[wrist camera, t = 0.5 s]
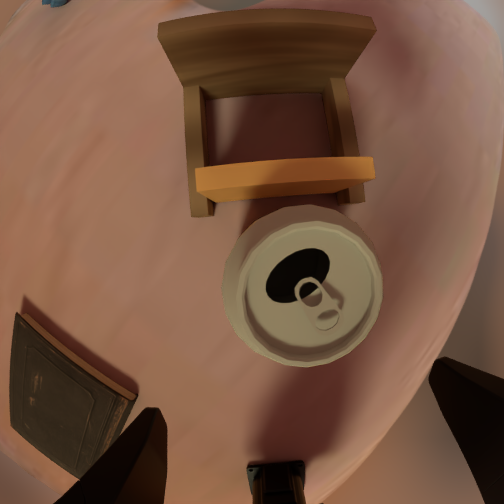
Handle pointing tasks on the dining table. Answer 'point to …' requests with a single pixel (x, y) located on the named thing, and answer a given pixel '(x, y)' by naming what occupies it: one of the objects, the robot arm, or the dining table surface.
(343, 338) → the can
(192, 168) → the brown wooden crate
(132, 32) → the dining table surface
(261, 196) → the pusher
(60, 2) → the grapes
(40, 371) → the hardcover book
